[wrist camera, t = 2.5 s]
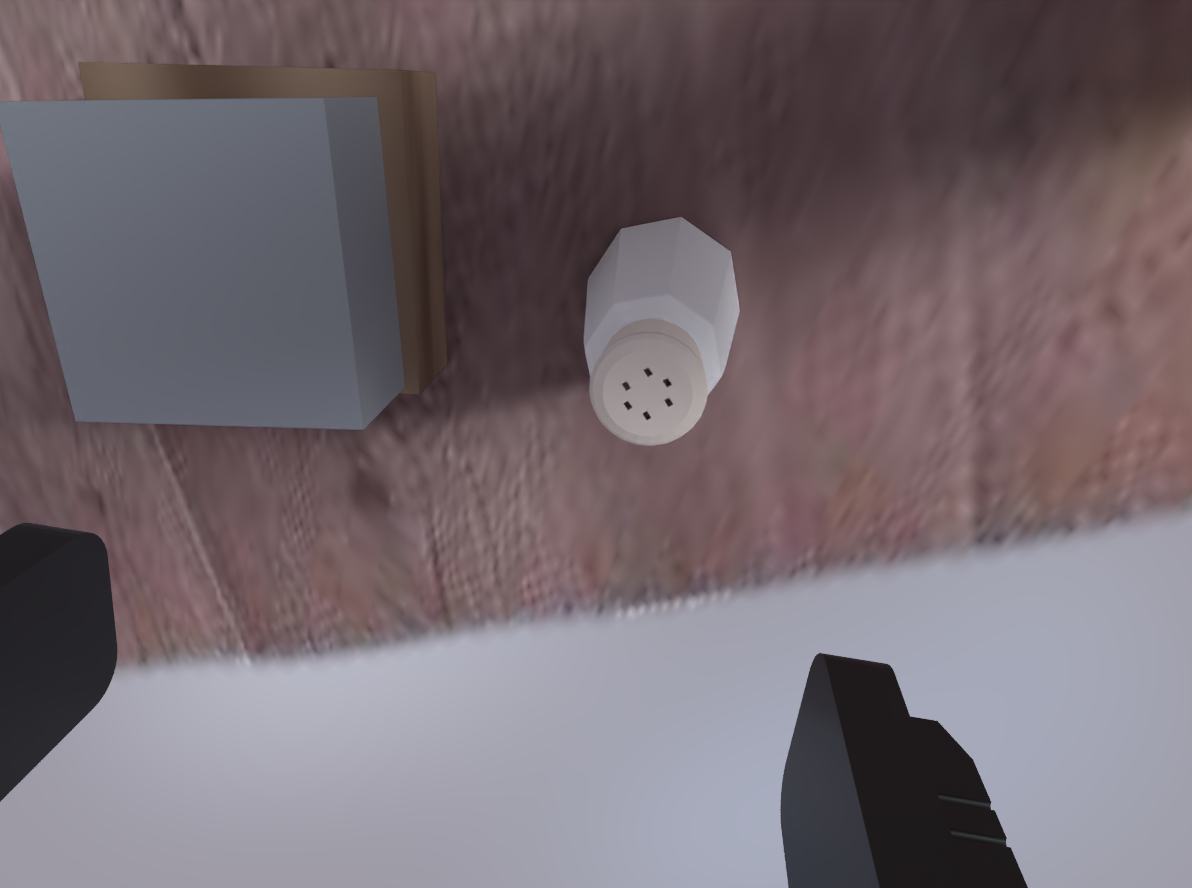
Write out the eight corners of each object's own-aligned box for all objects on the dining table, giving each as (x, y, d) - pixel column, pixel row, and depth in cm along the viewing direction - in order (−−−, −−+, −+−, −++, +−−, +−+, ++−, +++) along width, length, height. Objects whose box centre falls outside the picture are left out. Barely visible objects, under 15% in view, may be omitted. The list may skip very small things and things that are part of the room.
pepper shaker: (641, 394, 32) (615, 535, 22) (557, 270, 30) (488, 359, 20) (770, 316, 30) (808, 428, 20) (688, 182, 29) (684, 231, 19)
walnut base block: (438, 73, 29) (401, 69, 25) (450, 360, 33) (419, 394, 29) (154, 65, 30) (78, 61, 26) (198, 346, 34) (136, 378, 30)
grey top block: (377, 96, 26) (323, 98, 22) (405, 386, 29) (363, 429, 25) (91, 99, 26) (-6, 101, 23) (151, 380, 30) (75, 421, 26)
